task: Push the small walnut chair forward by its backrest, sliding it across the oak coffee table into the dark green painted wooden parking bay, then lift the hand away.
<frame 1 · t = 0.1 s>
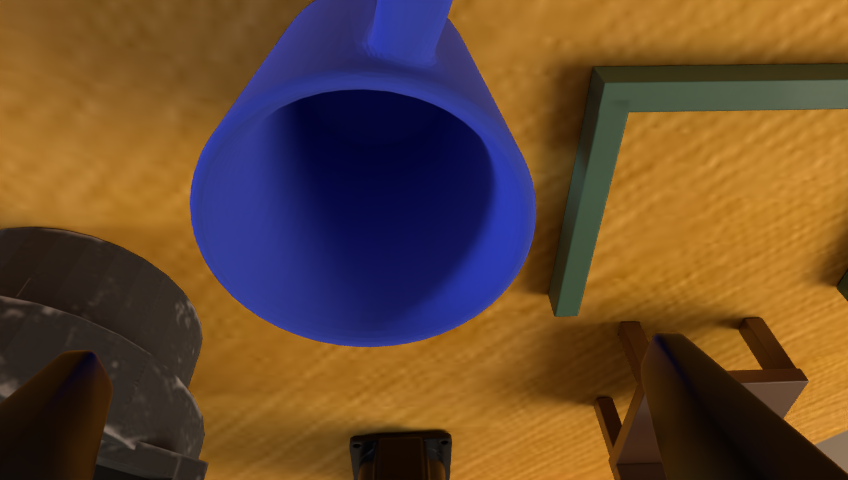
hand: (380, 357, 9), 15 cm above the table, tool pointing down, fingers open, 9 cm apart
mug: (385, 18, 20), on the table
chair: (672, 365, 34), on the table
lantern: (70, 333, 30), on the table
bay: (744, 200, 26), on the table
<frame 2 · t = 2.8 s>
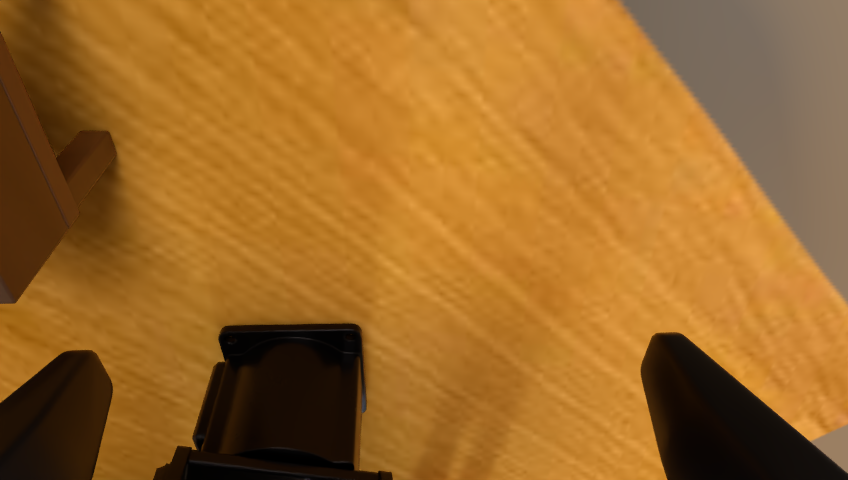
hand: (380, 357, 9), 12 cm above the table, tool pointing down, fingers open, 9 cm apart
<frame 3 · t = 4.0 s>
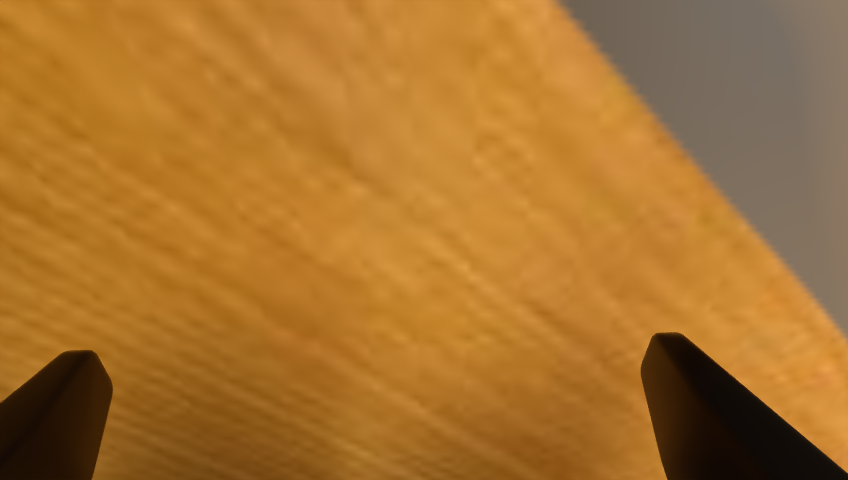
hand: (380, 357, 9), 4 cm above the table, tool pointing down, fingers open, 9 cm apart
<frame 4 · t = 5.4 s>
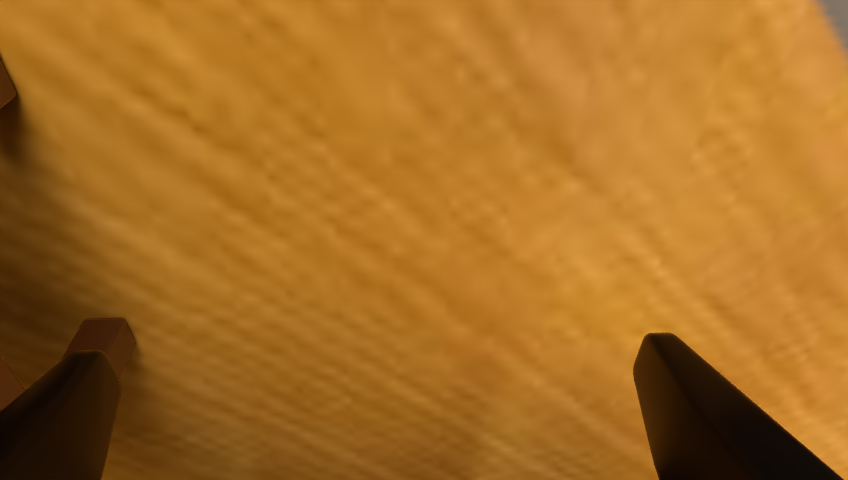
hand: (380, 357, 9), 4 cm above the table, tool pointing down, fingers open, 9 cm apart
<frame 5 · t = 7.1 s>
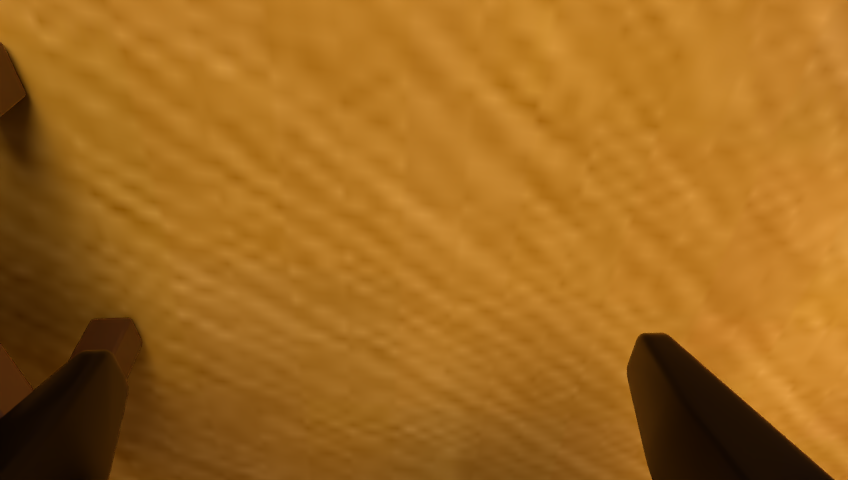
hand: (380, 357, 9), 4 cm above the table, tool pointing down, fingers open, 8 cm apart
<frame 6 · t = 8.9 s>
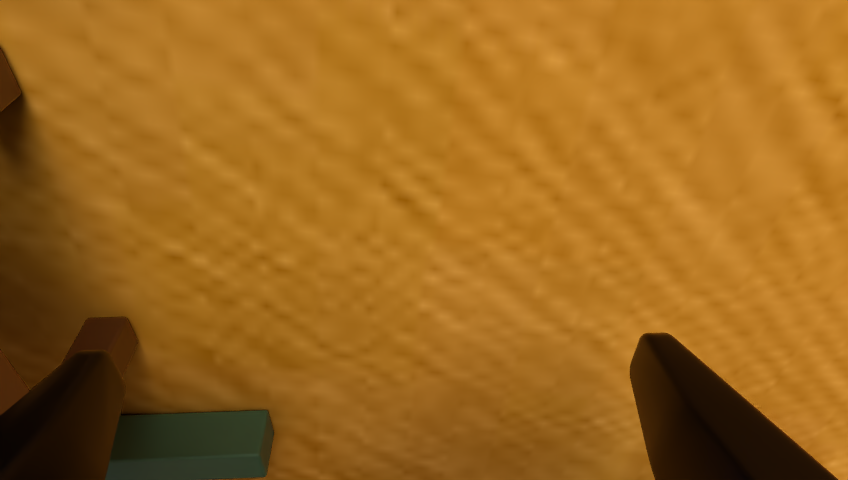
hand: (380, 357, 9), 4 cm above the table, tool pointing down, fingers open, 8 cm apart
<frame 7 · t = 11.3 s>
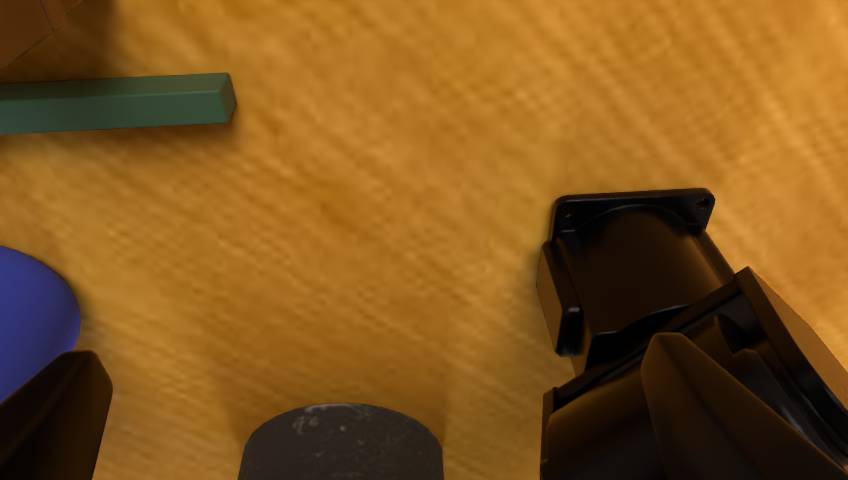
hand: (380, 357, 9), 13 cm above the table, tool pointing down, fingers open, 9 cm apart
lantern: (363, 464, 36), on the table
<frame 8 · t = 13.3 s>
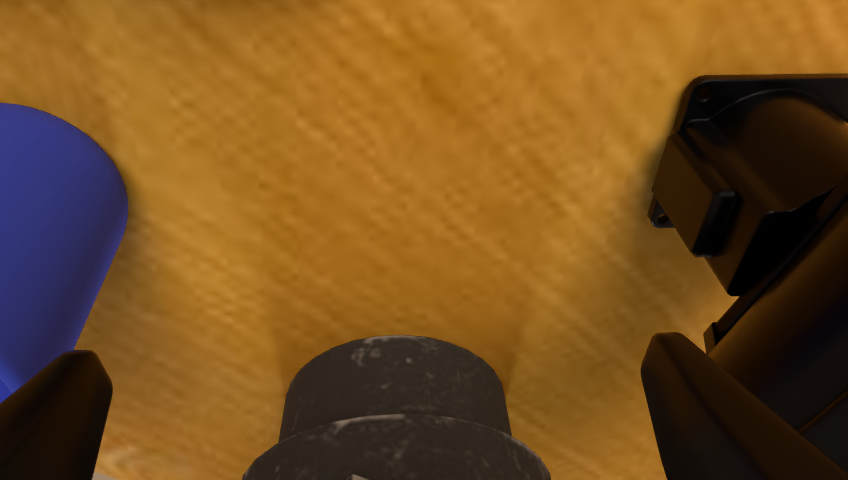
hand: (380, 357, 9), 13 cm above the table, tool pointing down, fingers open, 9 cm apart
lantern: (415, 412, 33), on the table
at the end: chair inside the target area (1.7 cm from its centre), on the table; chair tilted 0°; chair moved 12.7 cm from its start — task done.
